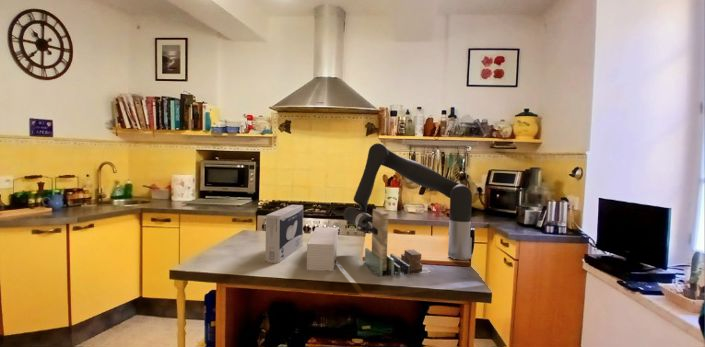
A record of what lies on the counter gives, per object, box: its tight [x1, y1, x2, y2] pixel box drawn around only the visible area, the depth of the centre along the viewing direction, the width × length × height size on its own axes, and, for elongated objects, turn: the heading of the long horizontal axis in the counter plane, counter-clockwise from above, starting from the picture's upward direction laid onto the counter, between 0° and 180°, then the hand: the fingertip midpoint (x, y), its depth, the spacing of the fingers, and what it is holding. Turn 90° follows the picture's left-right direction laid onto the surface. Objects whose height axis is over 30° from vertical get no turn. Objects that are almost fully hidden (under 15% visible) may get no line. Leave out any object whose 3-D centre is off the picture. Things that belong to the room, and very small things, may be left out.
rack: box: [363, 247, 433, 277], centre depth 148 cm, size 22×17×8 cm
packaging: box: [264, 204, 304, 264], centre depth 170 cm, size 30×6×20 cm, turn 168°
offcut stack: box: [400, 249, 423, 270], centre depth 149 cm, size 5×9×6 cm, turn 17°
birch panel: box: [371, 208, 389, 271], centre depth 145 cm, size 2×10×22 cm, turn 17°
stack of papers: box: [306, 226, 339, 271], centre depth 163 cm, size 32×11×11 cm, turn 0°
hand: (380, 231), depth 144 cm, fingers closed on birch panel, 2 cm apart
